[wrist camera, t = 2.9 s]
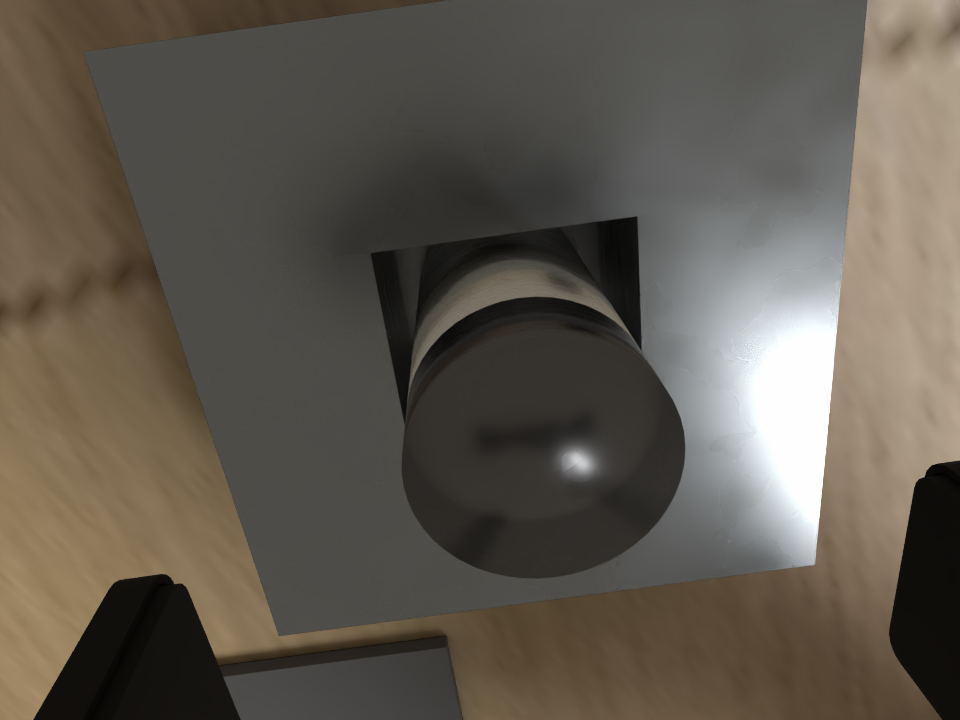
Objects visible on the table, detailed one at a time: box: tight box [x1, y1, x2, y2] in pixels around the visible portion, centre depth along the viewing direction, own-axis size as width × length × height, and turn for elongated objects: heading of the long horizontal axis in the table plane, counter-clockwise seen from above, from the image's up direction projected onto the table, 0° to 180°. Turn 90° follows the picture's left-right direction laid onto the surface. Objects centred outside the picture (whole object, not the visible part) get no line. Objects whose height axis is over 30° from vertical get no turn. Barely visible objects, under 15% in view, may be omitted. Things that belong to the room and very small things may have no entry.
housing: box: [84, 0, 867, 636], centre depth 20 cm, size 16×16×6 cm
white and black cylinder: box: [401, 227, 686, 579], centre depth 17 cm, size 5×5×10 cm
